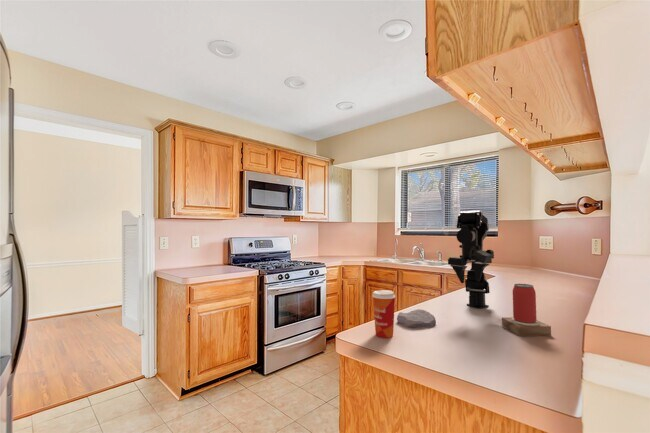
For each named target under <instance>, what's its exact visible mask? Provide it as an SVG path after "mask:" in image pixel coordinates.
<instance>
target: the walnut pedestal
mask: <svg viewBox="0 0 650 433" xmlns="http://www.w3.org/2000/svg"><path fill="white" fill-rule="evenodd" d="M501 327H503V328H505V329H507V330H508V331H510V332H512V333H513V334H515V335H518V336H519V337H550V336H549V335H551V336H552V326H551V325H549V324H546V323H544V322H542V321H540V320H538V319H537V320H536V322H535V323H522V322H518V321H516V320H515V319H514V318H513V316H512V317H501Z"/></svg>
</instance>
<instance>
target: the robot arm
mask: <svg viewBox="0 0 650 433" xmlns="http://www.w3.org/2000/svg"><path fill="white" fill-rule="evenodd" d="M483 214H484V213H483V211H482V210H468V211H460V212H459V214H458V215H457V222H456V229H460V230H458V232H456V241H458V242H459V243H460V245H459V246H458V247H459V249H461V255H459V257H458V256H449V257H448V259H447V265H449V267H451V268H452V269H453V271H454V272H455V275H456V276H457V278H458V279H459V282H460V283H461V284H464V285H465V293H468V303H466V306H470V307H472V308H477V309H482V308H488V307H489V305H488V304H486V294H490V293H491V292H490V284H489V282H488V279H487V277H486V275H485V273H484V270H485V268H486V267H488V266H490V264H492V261H493V260H492V259H495V254H494V253H495V252H494V250H492V249H487V250H484V240H485V239H486V237H487V235H488V232H489V230H490V229H489V228H490V227H489V226H490V225H489V221H488V218H487V217H486V216H485V215H483ZM470 263H471V265H470V266H471V267H470V269H469V270H467V274H466V277H465V271H466V269H467V268H468V266H467V264H470Z"/></svg>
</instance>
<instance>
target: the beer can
mask: <svg viewBox="0 0 650 433" xmlns="http://www.w3.org/2000/svg"><path fill="white" fill-rule="evenodd" d="M536 294H537V292H536V290H535V287H534V285H532V284H527V283H515V284H514V285H513V288H512V315H513V316H512V317H513V318H514V319H515V320H516V321H518V322H522V323H535V322H536V320H538V319H537V301H536V300H537V296H536Z"/></svg>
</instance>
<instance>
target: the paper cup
mask: <svg viewBox="0 0 650 433" xmlns="http://www.w3.org/2000/svg"><path fill="white" fill-rule="evenodd" d="M371 297H372V303H373V315H374V316H373V317H374V330H375V336H376V337H377V338H381V339H390V338H392V337H394V326H395V325H394V324H395V323H394V322H395V301H396V300H395V298H396V295H395V292H394V291H392V290H387V289H381V290H374V291H373V292H372V295H371Z"/></svg>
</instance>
